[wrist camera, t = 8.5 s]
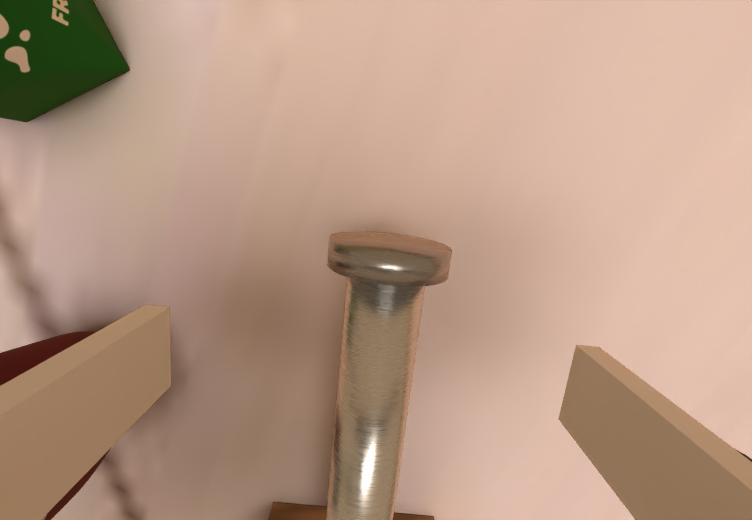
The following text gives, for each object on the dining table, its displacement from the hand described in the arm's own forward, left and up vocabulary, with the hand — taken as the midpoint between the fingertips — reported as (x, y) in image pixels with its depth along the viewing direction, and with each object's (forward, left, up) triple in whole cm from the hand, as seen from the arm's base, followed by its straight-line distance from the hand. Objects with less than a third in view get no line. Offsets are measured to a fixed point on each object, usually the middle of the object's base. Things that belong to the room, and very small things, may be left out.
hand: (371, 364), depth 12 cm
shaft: (0, -9, -5) cm, 11 cm away
